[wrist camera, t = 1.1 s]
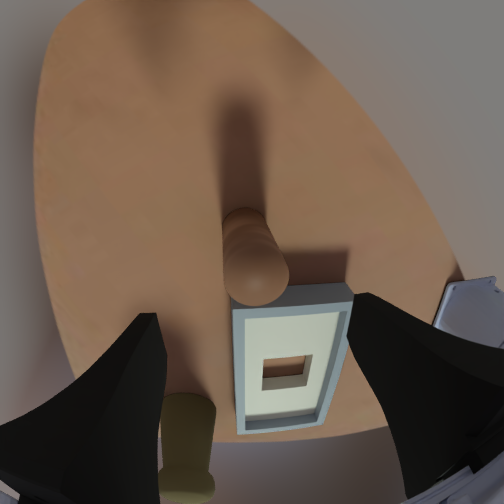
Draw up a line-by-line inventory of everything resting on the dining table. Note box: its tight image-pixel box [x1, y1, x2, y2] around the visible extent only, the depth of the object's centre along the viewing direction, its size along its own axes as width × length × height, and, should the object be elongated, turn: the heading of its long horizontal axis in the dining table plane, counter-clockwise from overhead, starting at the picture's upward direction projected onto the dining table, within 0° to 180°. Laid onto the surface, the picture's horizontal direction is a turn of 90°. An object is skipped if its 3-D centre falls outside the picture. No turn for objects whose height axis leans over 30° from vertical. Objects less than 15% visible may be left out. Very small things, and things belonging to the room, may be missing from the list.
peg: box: [222, 208, 289, 306], centre depth 16 cm, size 3×3×7 cm
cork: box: [158, 393, 216, 504], centre depth 21 cm, size 6×6×11 cm
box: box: [231, 282, 354, 435], centre depth 23 cm, size 9×16×3 cm, turn 179°
